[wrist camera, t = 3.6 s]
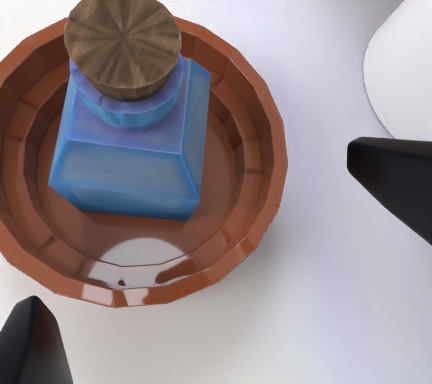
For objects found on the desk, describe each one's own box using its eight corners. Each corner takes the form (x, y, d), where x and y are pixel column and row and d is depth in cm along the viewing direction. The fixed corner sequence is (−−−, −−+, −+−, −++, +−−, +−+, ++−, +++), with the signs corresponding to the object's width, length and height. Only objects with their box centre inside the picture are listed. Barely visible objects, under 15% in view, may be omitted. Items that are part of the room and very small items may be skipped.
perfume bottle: (97, 113, 21) (28, -76, 10) (196, 127, 22) (240, -31, 11) (80, 211, 20) (-25, 123, 8) (187, 221, 21) (226, 156, 9)
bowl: (301, 143, 24) (334, 114, 19) (176, 353, 19) (182, 376, 15) (113, 17, 23) (104, -41, 19) (-58, 200, 19) (-120, 179, 15)
